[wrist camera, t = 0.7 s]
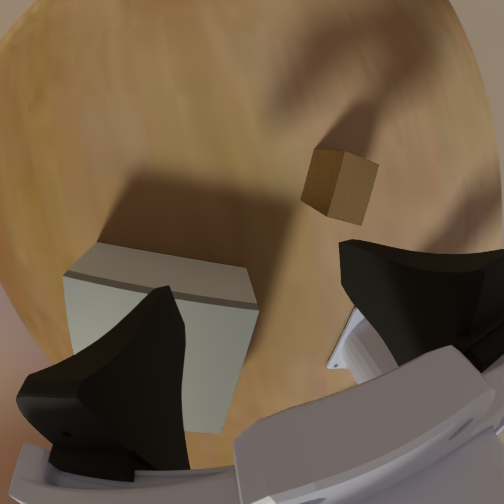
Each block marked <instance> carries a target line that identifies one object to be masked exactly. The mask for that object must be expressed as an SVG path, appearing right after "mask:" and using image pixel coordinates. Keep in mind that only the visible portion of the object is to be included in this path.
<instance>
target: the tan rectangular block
mask: <svg viewBox="0 0 504 504" xmlns="http://www.w3.org/2000/svg"><path fill="white" fill-rule="evenodd" d="M378 166H379V164H377V163H374V162H372V161H370V160H367V159H365V158H362V157H360V156H357V155H355V154H352V153H349V152H347V151H340V150H322V149H314V151H313V155H312V159H311V163H310V166H309V170H308V174H307V178H306V182H305V185H304V189H303V193H302V196H301V201H302V202H304V203H306V204H307V205H309V206H311V207H312V208H314V209H315V210H317V211H319V212H320V213H322V214H323V215H325V216H327V217H330V218H334V219H338V220H341V221H345V222H349V223H353V224H356V225H360V226H361V225H362V222H363V219H364V216H365V212H366V209H367V206H368V202H369V199H370V196H371V192H372V189H373V185H374V181H375V178H376V174H377V170H378Z"/></svg>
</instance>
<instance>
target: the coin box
mask: <svg viewBox="0 0 504 504" xmlns="http://www.w3.org/2000/svg"><path fill="white" fill-rule="evenodd" d="M167 285H169V286H170V288H171V291H172V293H173V296H174V299H175V301H176V304H177V306H178V309H179V311H180V314H181V316H182V318H183V321H184V323H185V333H186V348H185V359H184V369H183V380H182V412H183V424H184V431H192V432H203V433H219V434H220V433H221V430H222V427H223V424H224V421H225V418H226V415H227V412H228V409H229V406H230V403H231V400H232V397H233V394H234V391H235V388H236V385H237V381H238V378H239V375H240V372H241V369H242V366H243V363H244V359H245V356H246V353H247V350H248V347H249V343H250V340H251V337H252V334H253V330H254V327H255V324H256V321H257V317H258V314H259V308H258V304H257V301H256V298H255V295H254V292H253V288H252V285H251V282H250V279H249V275H248V272H247V269H246V268H244V267H238V266H232V265H226V264H220V263H213V262H207V261H202V260H196V259H190V258H184V257H178V256H172V255H166V254H161V253H155V252H149V251H144V250H138V249H133V248H127V247H122V246H116V245H111V244H105V243H100V242H96V243H95V244H94V245H93V246H92V247H91V248H90V249H89V250H88V251H87V252H86V253H85V254H84V255H83V256H82V257H81V258H80V259H79V260H78V261H77V262H76V263H75V264H74V265H73V266H72V267H71V268H70V269H69V270H68V271H67V272H66V273H65V274H64V275H63V287H64V296H65V305H66V312H67V319H68V325H69V331H70V337H71V342H72V347H73V352H74V355H75V354H76V353H78V352H80V351H81V350H83V349H84V348H86V347H87V346H89V345H91V344H92V343H94V342H95V341H97V340H98V339H99V338H101V337H102V336H103V335H105V334H106V333H107V332H108V331H110V330H111V329H112V328H113V327H114V326H115V325H117V324H118V323H119V322H120V321H121V320H122V319H123V318H124V317H125V316H126V315H127V314H128V313H130V312H131V311H132V310H133V309H134V308H135V307H136V306H137V305H138V304H139V303H140V302H141V301H142V300H143V299H144V298H145V297H146V296H147V295H148V294H149V293H150V292H151V291H152V290H154V289H155V288H158V287H162V286H167Z"/></svg>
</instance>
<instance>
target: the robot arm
mask: <svg viewBox="0 0 504 504" xmlns="http://www.w3.org/2000/svg"><path fill="white" fill-rule="evenodd" d="M339 254H340V269H341V285H342V286H343V288H344V290H345V292H346V293H347V295H348V296H349V298H350V300H351V301H352V302H353V304H354V305H355V306H356V307H355V308H354V309H353V312H352V314H351V316H350V318H349V320H348V323H347V325H346V327H345V329H344V331H343V333H342V335H341V337H340V339H339V341H338V343H337V345H336V347H335V349H334V351H333V353H332V355H331V357H330V359H329V361H328V363H327V367H328V368H329V369H340V368H348V369H349V370H350V372H351V374H352V376H353V377H354V379H355V381H356V382H357V384H358V385H356V386H353V387H351V388H348V389H345V390H343V391H340V392H337V393H334V394H331V395H329V396H326V397H323V398H320V399H317V400H313V401H310V402H307V403H304V404H300V405H297V406H293V407H290V408H287V409H285V410H283V411H280V412H278V413H275V414H273V415H270V416H267V417H265V418H262V419H260V420H257V421H256V422H255V423H254V424H253V425H251V426H250V427H249V428H248V429H247V430H245V431H244V432H243V433H242V434H240V435H239V436H238V437H237V438H236V439H235V440H234V442H233V456H234V463H235V465H231V466H224V467H216V468H206V469H194V470H191V469H190V465H189V460H188V454H187V448H186V441H185V433H184V424H183V412H182V380H183V369H184V359H185V348H186V333H185V323H184V321H183V318H182V316H181V314H180V311H179V309H178V306H177V304H176V301H175V299H174V296H173V293H172V291H171V288H170V286H169V285H167V286H162V287H158V288H155V289H154V290H152V291H151V292H150V293H149V294H148V295H147V296H146V297H145V298H144V299H143V300H142V301H141V302H140V303H139V304H138V305H137V306H136V307H135V308H134V309H133V310H132V311H131V312H130V313H128V314H127V315H126V316H125V317H124V318H123V319H122V320H121V321H120V322H119V323H118V324H117V325H115V326H114V327H113V328H112V329H111V330H110V331H108V332H107V333H106V334H105V335H103V336H102V337H101V338H99V339H98V340H97V341H95V342H94V343H92V344H91V345H89V346H87V347H86V348H84V349H83V350H81V351H80V352H78V353H76V354H75V355H73V356H71V357H69V358H67V359H65V360H63V361H61V362H59V363H57V364H55V365H53V366H51V367H48V368H45V369H43V370H40V371H38V372H35V373H32V374H30V375H28V376H27V378H26V379H25V381H24V383H23V385H22V387H21V389H20V391H19V393H18V395H17V398H16V402H17V404H18V407H19V410H20V411H21V413H22V414H23V416H24V417H25V418H26V419H27V420H28V421H29V423H30V424H31V425H32V426H33V427H34V428H36V429H37V430H38V431H39V432H40V433H41V434H42V435H43V436H44V437H45V438H47V440H49V441H50V442H51V443H52V444H53V446H52V450H51V451H50V450H48V449H46V448H43V447H40V446H36V445H32V444H29V443H23V446H22V449H21V452H20V455H19V458H18V461H17V464H16V468H15V471H14V474H13V478H12V482H11V485H10V490H9V496H10V497H12V498H13V499H15V500H16V501H18V502H20V503H21V504H504V444H503V443H502V441H501V440H500V439H499V438H498V436H497V435H498V434H499V433H500V432H501V431H502V430H503V429H504V249H500V250H494V251H488V252H482V253H471V254H433V253H423V252H415V251H409V250H404V249H399V248H394V247H389V246H385V245H380V244H376V243H372V242H367V241H362V240H354V239H351V240H347V241H343V242H339Z"/></svg>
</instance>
